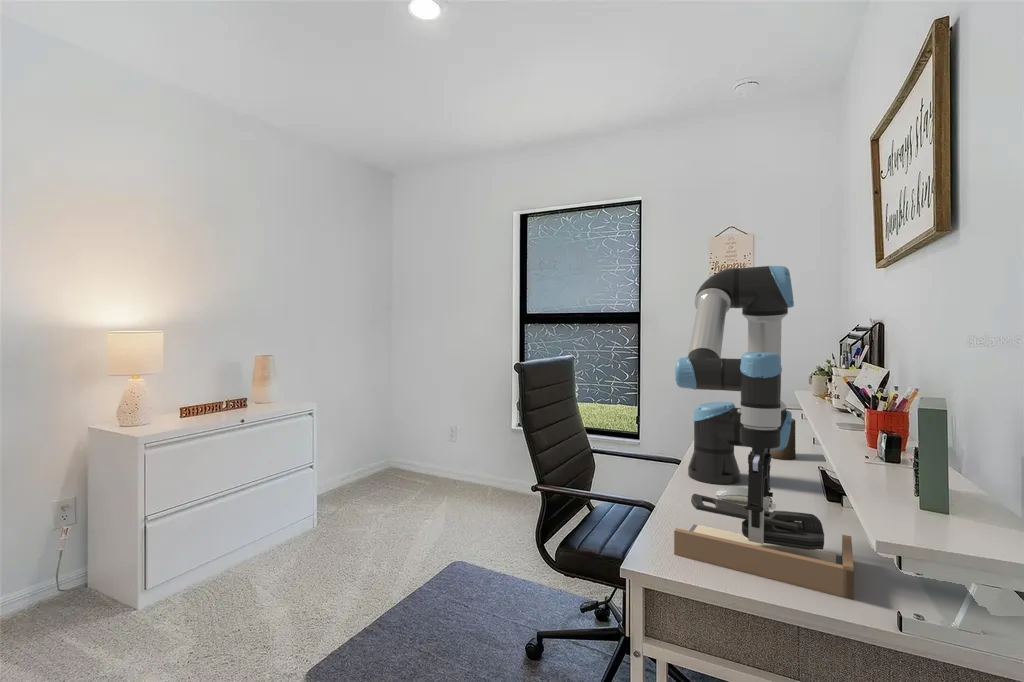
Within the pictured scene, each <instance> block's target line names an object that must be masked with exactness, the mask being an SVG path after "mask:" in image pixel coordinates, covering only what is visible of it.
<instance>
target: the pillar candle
mask: <svg viewBox="0 0 1024 682" xmlns="http://www.w3.org/2000/svg"><path fill="white" fill-rule="evenodd" d="M770 454H771V459H777V460H786V461H787V460H788V461H790V460H795V459H796V454H797V453H796V418H792V420H791V429H790V435H789V440H788V444H787V446H786V448H784V449H782V450H773V449H770Z"/></svg>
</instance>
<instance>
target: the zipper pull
mask: <svg viewBox="0 0 1024 682" xmlns="http://www.w3.org/2000/svg"><path fill="white" fill-rule="evenodd" d="M690 502H691V505H692V506H693V508H695V510H696V511H697V510H698V511H702V512H706V513H711V514H715V515H716V514H717V515H722V516H726V517H731V518H735V519H736V518H737V519H742V522H741V534H743V535H744V536H745V537H747V538H748V530H749V510H747V509H745V506H746V505H743V504H739V503H735V502H730V501H727V500H723V499H718V498H714V497H710V496H706V495H702V494H698V493H693V494H692V495H691V498H690ZM704 503H710V504H712V505H714V506H715V507H714V506H711V505H710V506H709V505H706V504H704ZM763 511H764V510H763ZM764 516H765V517H769V518H765V517H764V543H767V544H773V545H780V546H787V547H793V548H800V549H806V550H824V546H825V532H824V528H823V523H822V522H821V520H820V519H819V518H818V516H817V515H814V514H813V513H806V512H796V511H789V510H788V511H786V510H773V511H770V510H769V511H764Z"/></svg>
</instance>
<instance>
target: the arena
mask: <svg viewBox="0 0 1024 682" xmlns="http://www.w3.org/2000/svg"><path fill="white" fill-rule="evenodd" d="M673 535H674V536H673V541H674V543H673V545H674V546H673V547H674V548H673V554H674V555H676V556H680V557H683V558H688V559H691V560H696V561H700V562H703V563H707V564H710V565H711V564H712V565H715V566H719V567H723V568H727V569H731V570H736V571H740V572H743V573H747V574H751V575H755V576H759V577H762V578H766V579H770V580H775V581H778V582H783V583H785V584H790V585H795V586H798V587H803V588H806V589H810V590H814V591H818V592H822V593H826V594H830V595H833V596H838V597H843V598H846V599H849V600H854V582H855V581H854V577H855V576H854V575H855V573H854V572H855V570H854V558H853V542H852V536H851V535H846V534H842V535H841V538H842V539H841V542H842V543H841V549H842V550H841V555H839V554H837V553H833V552H832V553H831V552H826V551H822V550H820V549H815V550H806V549H800V548H793V547H787V546H780V545H773V544H767V543H763V544H761V543H756V542H752V541H748V538H747V537H745V536H744V535H743V533H740V532H739V533H737V532H734V531H729V530H724V529H719V528H715V527H710V526H705V525H701V524H692V526H691V527H690V529H689V530H686V529H684V528H683V529H682V528H678V527H676V528H675V529H674V532H673Z"/></svg>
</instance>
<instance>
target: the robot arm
mask: <svg viewBox="0 0 1024 682" xmlns="http://www.w3.org/2000/svg"><path fill="white" fill-rule="evenodd" d="M794 302H795V301H794V294H793V287H792V279H791V273H790V270H789V268H788V267H786V266H783V265H763V266H749V267H736V268H735V267H733V268H731V267H730V268H725V269H722V270H720V271H718V272H716V273H714V274H713V275H711V276H710V277H708V278H707V279H706V280H705V281H704V282H703V283H702V284H701V285H700V287H699V289H698V290H697V292H696V294H695V299H694V307H695V309H696V312H695V317H694V323H693V328H692V332H691V338H690V342H689V343H690V344H689V347H688V353H687V356H684V357H679V358H678V359H677V360H676V362H675V368H674V369H675V370H674V372H675V373H674V376H675V383H676V385H677V387H679V388H681V389H690V390H691V389H692V390H701V391H702V390H704V391H706V390H708V391H729V392H730V391H731V392H740V407H736V405H735V403H734V402H732V401H713V402H706V403H700V404H698V405H697V406H696V407H694V408H695V409H694V413H693V415H694V418H693V428H694V429H693V434H694V435H693V446H694V447H693V453H692V455H691V458H690V461H689V464H688V466H687V467H688V468H687V475H688V477H690V478H692V479H693V480H696V481H699V482H703V483H708V484H714V485H731V484H736V483H739V482H740V481H741V470H740V468H739V465H738V462H737V458H736V455H735V447H741V448H742V447H743V448H744V447H745V448H751V451H750V452H749V453H748V455H747V464H748V471H747V472H748V479H747V481H748V485H747V505H744V506H745V509H747V510H749V530H748V541H752V542H756V543H761V544H763V543H764V517H765V516H764V511H769V512H770V498H773V496H774V493H773V491H772V492H771V474H770V472H771V462H772V458H771V454H770V449H773V450H782V449H784V448H786V446H787V444H788V440H789V435H790V429H791V420H792V419H793V418H792V417H793V414H792V411H789V410H787V404H786V403H784V402H783V401H782V400H781V398H782V397H781V395H782V394H781V393H782V392H781V391H782V372H783V368H782V325H783V324H782V322H783V321H782V320H783V319H784V318H785V317H786V316H787V315H788V314H789V312H788V311H789V309H790V308H793V307H795V304H794ZM730 309H742V311H741V315H742V316H743V317H744V318H745V319H747V352H744V353H742V355H741V357H740V358H724V357H721V356H722V349H723V341H724V340H723V339H724V334H725V333H724V332H725V324H726V317H727V313H728V312H729V310H730ZM763 510H764V511H763ZM765 518H769V517H765Z"/></svg>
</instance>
